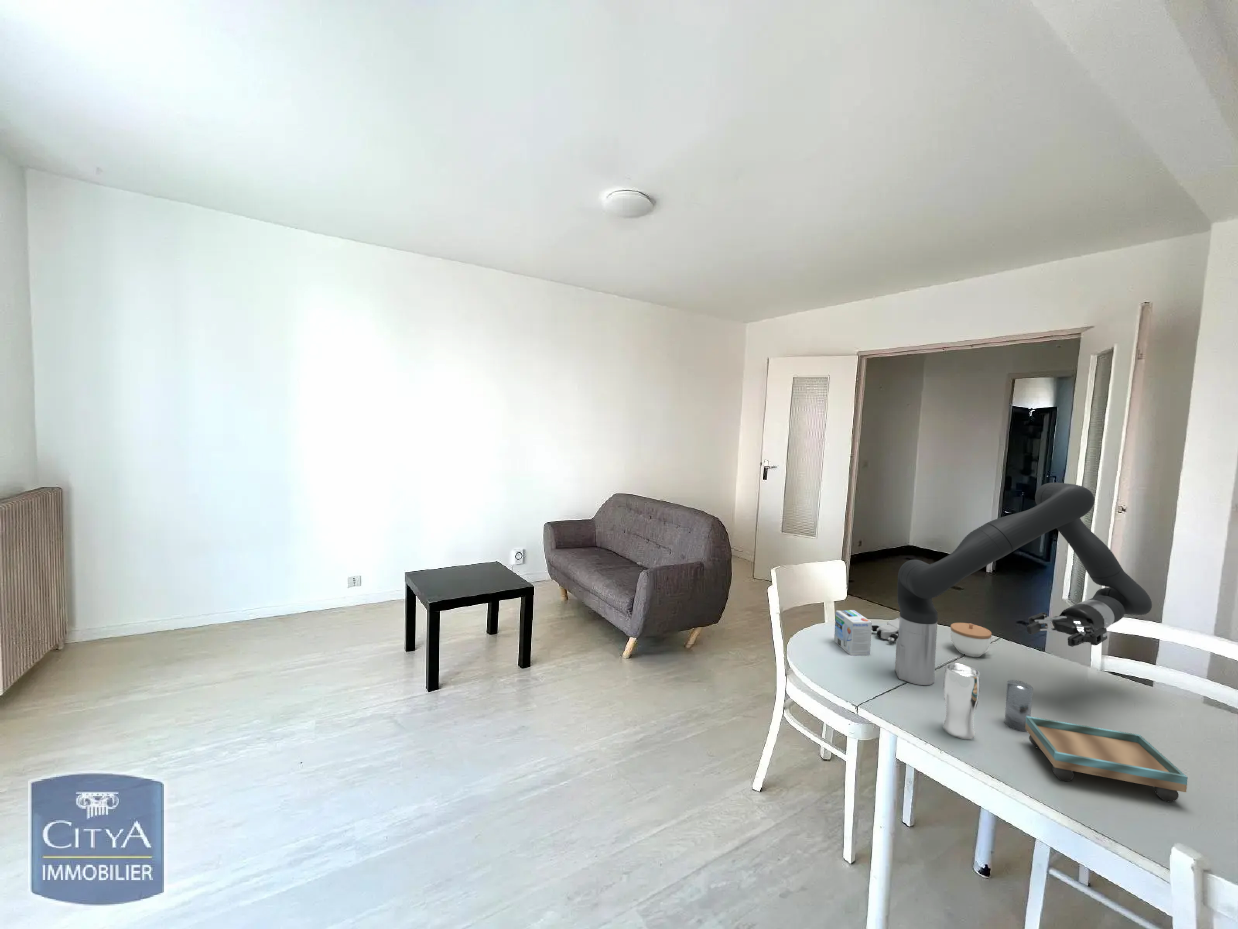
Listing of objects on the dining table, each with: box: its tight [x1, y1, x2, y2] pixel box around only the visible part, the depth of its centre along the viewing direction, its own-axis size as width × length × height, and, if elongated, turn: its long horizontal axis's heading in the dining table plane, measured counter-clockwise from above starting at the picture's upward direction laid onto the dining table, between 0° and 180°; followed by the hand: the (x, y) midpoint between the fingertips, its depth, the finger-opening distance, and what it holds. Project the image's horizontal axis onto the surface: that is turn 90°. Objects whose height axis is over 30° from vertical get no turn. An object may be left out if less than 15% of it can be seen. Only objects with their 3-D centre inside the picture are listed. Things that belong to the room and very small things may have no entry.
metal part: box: [1003, 679, 1034, 732], centre depth 120 cm, size 5×5×10 cm
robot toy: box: [871, 617, 900, 642], centre depth 172 cm, size 12×4×15 cm
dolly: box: [1025, 716, 1188, 803], centre depth 104 cm, size 20×14×6 cm
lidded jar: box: [949, 622, 993, 658], centre depth 160 cm, size 11×11×9 cm
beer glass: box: [942, 662, 981, 740], centre depth 117 cm, size 7×7×15 cm
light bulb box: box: [833, 609, 873, 656], centre depth 162 cm, size 11×7×11 cm, turn 5°
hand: (1048, 636), depth 124 cm, fingers open, 8 cm apart
